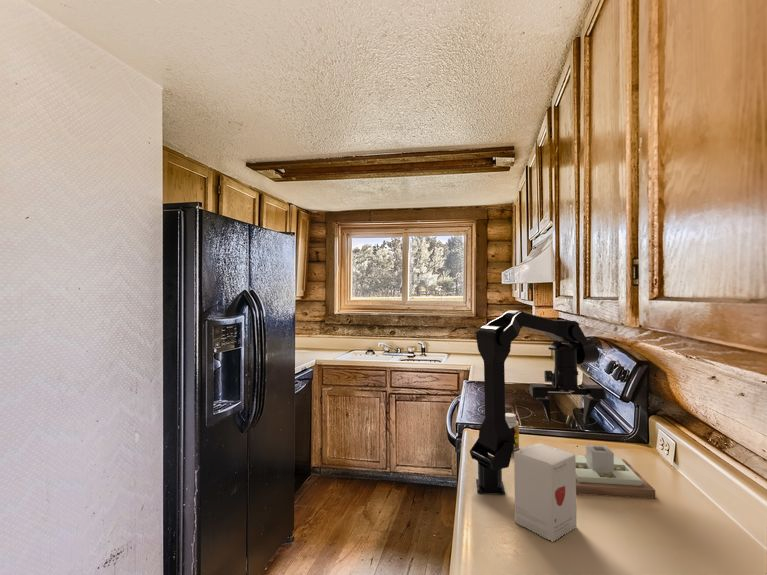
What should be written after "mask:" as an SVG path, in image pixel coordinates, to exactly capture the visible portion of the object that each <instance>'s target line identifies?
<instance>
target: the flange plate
mask: <svg viewBox="0 0 767 575" xmlns="http://www.w3.org/2000/svg"><path fill="white" fill-rule="evenodd" d="M597 450H600V451H597ZM614 454H615V453H614V451H612V450H611V448H609V446H607V445H597V444H596V445H595V444H586V445H585V455H580V454H579V455H578V454H575V463H576V467H579V465H582V466H584V467H586V468H587V469H581V468H576V479H577V480H578V482H590V483H606V484H623V485H639V486H642V480H641V479H640V478H639V477H638V476H637V475H636V474H635V473H634V472H633V471H632V470H631V469H630V468H629V467H628V466H627V465H626V464H625V463H624V462H623V461H622V460H621V459H622V458H620V457H617V456H615V455H614ZM617 467H619V468H622V470H625V471H617V470H614V469H616V468H617ZM603 474H608V475H609V476H612V477H613V478H608V477H600V476H603ZM599 475H600V476H599Z"/></svg>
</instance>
